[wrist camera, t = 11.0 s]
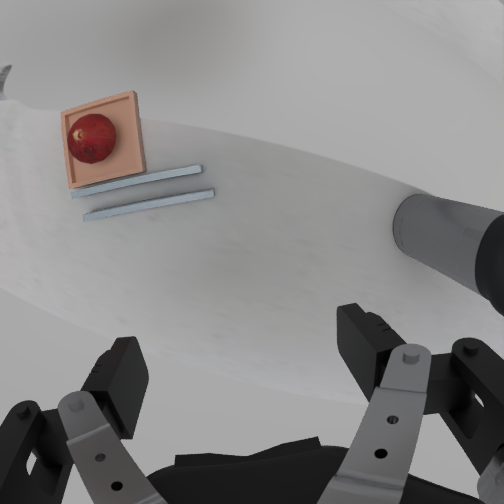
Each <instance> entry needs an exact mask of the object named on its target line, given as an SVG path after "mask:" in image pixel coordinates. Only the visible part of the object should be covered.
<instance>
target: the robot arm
mask: <svg viewBox="0 0 504 504" xmlns="http://www.w3.org/2000/svg"><path fill="white" fill-rule="evenodd" d="M393 231H394V238H395V241H396V243H397V245H398V247H399V248H400V249H401V250H402V252H404V253H405V254H407V255H409V256H411V257H413V258H415V259H416V260H418V261H420V262H422V263H424V264H425V265H427V266H429V267H431V268H433V269H435V270H437V271H438V272H440V273H442V274H444V275H446V276H447V277H449V278H451V279H453V280H455V281H456V282H458V283H460V284H462V285H463V286H465V287H467V288H469V289H471V290H472V291H474V292H476V293H477V294H479V295H481V296H483V297H484V298H486V299H487V300H489V301H490V302H491V304H492V306H493V307H494V308H495V309H496V311H498V312H499V313H500V314H501V315H503V316H504V212H501V211H497V210H493V209H488V208H484V207H480V206H475V205H471V204H466V203H462V202H457V201H453V200H448V199H443V198H439V197H434V196H429V195H423V194H416V195H413V196H410V197H409V198H407V199H406V200H405V201H404V202H403V203H402V204H401V206H400V207H399V209H398V211H397V213H396V215H395V219H394V226H393ZM337 345H338V350H339V353H340V355H341V357H342V358H343V360H344V362H345V363H346V365H347V367H348V368H349V370H350V372H351V373H352V375H353V377H354V378H355V380H356V382H357V383H358V385H359V387H360V388H361V390H362V392H363V393H364V395H365V397H366V398H367V400H368V402H369V405H368V408H367V410H366V413H365V415H364V417H363V419H362V422H361V424H360V426H359V429H358V431H357V433H356V436H355V437H354V440H353V442H352V444H351V446H350V448H344V447H339V446H321V444H320V441H319V438H318V436H317V437H313V438H308V439H304V440H299V441H294V442H288V443H283V444H280V445H278V446H275V447H272V448H270V449H267V450H264V451H261V452H258V453H256V454H253V455H249V456H234V455H223V454H213V453H205V454H187V455H175V464H174V465H172V466H168V467H165V468H162V469H160V470H158V471H156V472H154V473H152V474H150V475H148V476H147V477H145V475H144V474H143V473H142V471H141V470H140V469H139V467H138V466H137V464H136V463H135V462H134V460H133V459H132V457H131V456H130V454H129V453H128V452H127V450H126V449H125V447H124V446H123V444H122V443H121V441H120V440H121V439H133V435H134V431H135V427H136V424H137V420H138V417H139V413H140V409H141V406H142V402H143V399H144V396H145V392H146V389H147V385H148V381H149V375H148V369H147V366H146V363H145V360H144V358H143V355H142V352H141V349H140V346H139V343H138V340H137V338H136V337H135V336H132V337H120V338H117V339H116V340H115V342H114V344H113V346H112V347H111V349H110V350H107V351H106V352H105V353H104V354H102V355H101V356H100V357H99V358H98V360H97V362H96V363H95V367H93V369H92V370H91V373H90V374H89V376H88V378H87V379H86V381H85V383H84V385H83V387H82V388H81V390H80V391H76V392H72V393H70V394H68V395H66V396H65V397H63V398H62V399H61V401H60V402H59V404H58V408H57V409H52V410H47V411H41V409H40V407H39V406H38V404H37V403H36V402H35V401H30V400H28V401H23V402H20V403H18V404H16V405H15V406H14V407H13V408H12V409H11V410H10V411H9V413H8V415H7V416H6V418H5V420H4V421H3V423H2V424H1V426H0V504H61V503H62V499H63V495H64V492H65V489H66V485H67V482H68V479H69V475H70V472H71V469H72V466H73V464H75V465H76V467H77V470H78V472H79V474H80V476H81V478H82V481H83V483H84V485H85V487H86V489H87V491H88V493H89V495H90V497H91V499H92V501H93V503H94V504H504V360H503V359H502V358H501V357H500V356H499V355H498V354H497V353H496V352H494V351H493V350H492V349H491V348H490V347H489V346H488V345H486V344H485V343H484V342H483V341H481V340H479V339H475V338H462V339H459V340H457V341H456V342H454V344H453V346H452V351H451V353H446V354H437V355H431V353H430V351H429V350H428V349H427V348H426V347H424V346H421V345H418V344H407V343H406V342H405V341H404V340H403V339H402V338H401V337H400V336H399V335H398V334H397V333H396V332H395V331H394V330H393V329H391V327H390V326H389V325H388V324H386V322H385V321H384V320H383V319H382V318H381V317H380V316H378V315H376V314H374V313H372V312H367V313H365V312H364V311H363V310H362V308H361V307H360V306H359V305H358V304H357V303H352V304H348V305H343V306H338V307H337ZM475 394H477V395H478V397H479V398H480V399H481V400H482V402H483V405H484V407H483V406H482V405H481V404H480V403H479V402H478V400H477V399H476V398H475ZM435 413H439V414H440V416H441V417H442V419H443V420H444V422H445V423H446V424H447V426H448V427H449V429H450V430H451V432H452V433H453V435H454V436H455V438H456V439H457V441H458V442H459V444H460V445H461V447H462V448H463V450H464V452H465V453H466V455H467V456H468V458H469V459H470V461H471V462H472V464H473V466H474V467H475V469H476V470H477V472H478V473H479V475H480V478H479V480H478V483H477V491H478V494H479V499H477V498H475V497H472V496H470V495H466V494H464V493H460V492H457V491H454V490H451V489H448V488H445V487H443V486H440V485H437V484H434V483H432V482H429V481H426V480H424V479H421V478H418V477H416V476H413V475H411V474H409V473H408V472H409V469H410V465H411V462H412V458H413V455H414V451H415V447H416V443H417V439H418V435H419V430H420V426H421V422H422V417H423V415H427V414H435ZM31 451H32V453H33V454H34V455H35V456H36V458H37V459H36V462H35V464H34V467H33V469H32V471H31V474H30V475H29V474H28V472H27V468H26V464H27V460H28V458H29V456H30V453H31Z"/></svg>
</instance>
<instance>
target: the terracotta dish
mask: <svg viewBox="0 0 504 504" xmlns="http://www.w3.org/2000/svg"><path fill="white" fill-rule="evenodd" d="M87 114H102V115H104V116H106V117H107V118H109V119H110V121H111V122H112V124H113V125H114V126H115V131H116V141H115V145H114V148H113V150H112V152H111V154H110V155H108V156H107V157H106V158H105V159H104V160H103V161H100V162H97V163H93V164H88V163H82V162H80V161H78V160H77V159H75V158H74V157H73V156H72V154H71V152H70V151H69V149H68V143H67V138H68V133H69V130H70V129H71V127H72V125H73V124H74V123H75V122H76V121H77V120H78V119H79V118H80V117H83V116H85V115H87ZM61 125H62V137H63V146H64V155H65V163H66V171H67V177H68V184H69V189H73V188H77V187H81V186H85V185H89V184H93V183H97V182H101V181H105V180H110V179H114V178H118V177H123V176H127V175H132V174H136V173H141V172H146V164H145V157H144V150H143V143H142V135H141V126H140V118H139V109H138V99H137V93H136V92H135V91H129V92H125V93H121V94H117V95H114V96H110V97H107V98H103V99H100V100H97V101H93V102H90V103H87V104H84V105H81V106H78V107H75V108H72V109H69V110H66V111H63V112H61Z"/></svg>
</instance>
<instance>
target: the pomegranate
mask: <svg viewBox="0 0 504 504" xmlns="http://www.w3.org/2000/svg"><path fill="white" fill-rule="evenodd" d="M115 141H116V131H115V126H114V125H113V124H112V122H111V121H110V119H109V118H107V117H106V116H104V115H102V114H87V115H85V116H83V117H80V118H79V119H78V120H77V121H76V122H75V123H74V124H73V125H72V127H71V129H70V130H69V133H68V138H67V143H68V149H69V151H70V152H71V154H72V156H73V157H74V158H75V159H77V160H78V161H80V162H82V163H88V164H93V163H97V162H100V161H103V160H104V159H105V158H106V157H107V156H108V155H110V154H111V152H112V150H113V148H114V145H115Z"/></svg>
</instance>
